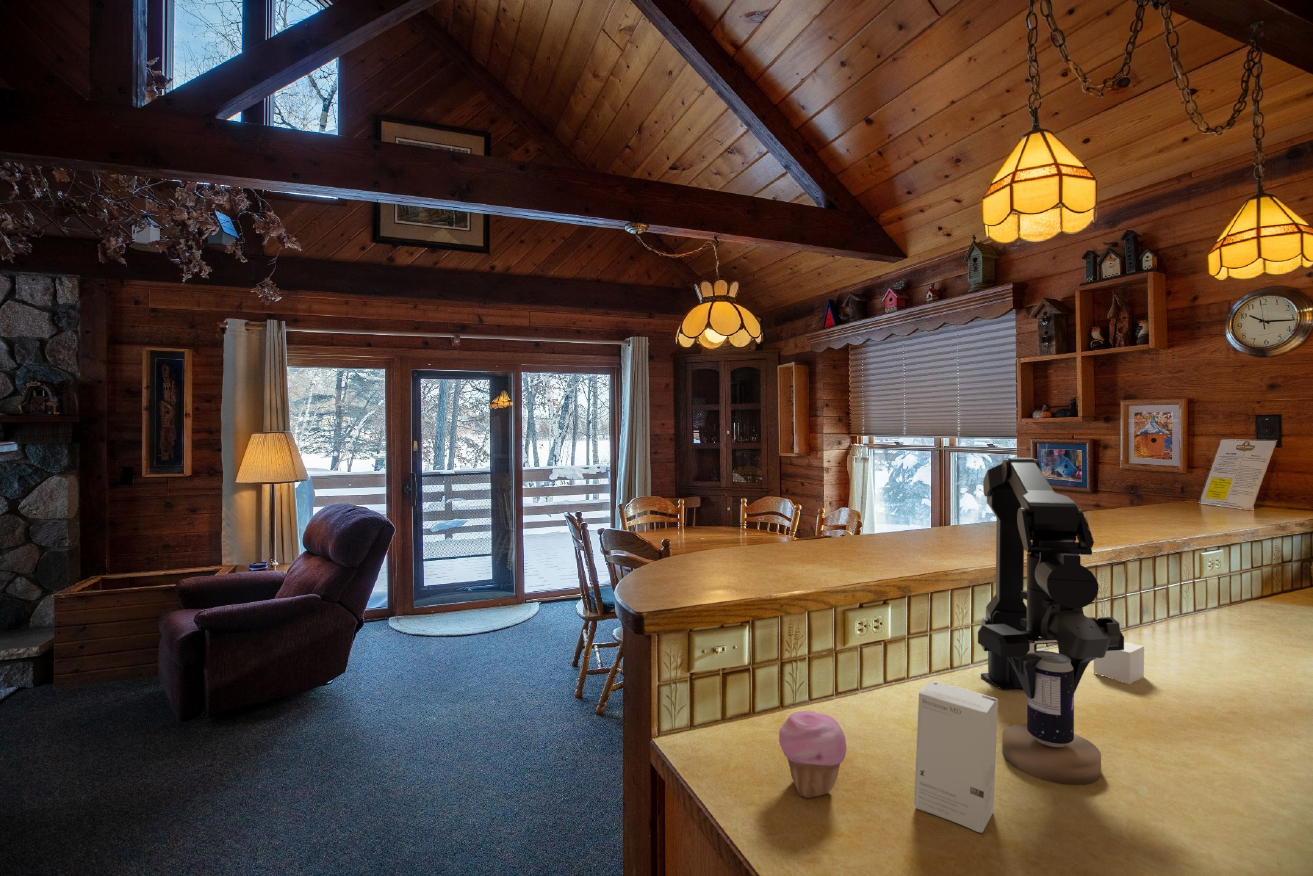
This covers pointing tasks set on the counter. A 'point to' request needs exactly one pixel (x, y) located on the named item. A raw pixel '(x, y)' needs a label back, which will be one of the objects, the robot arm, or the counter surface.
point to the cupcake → (813, 751)
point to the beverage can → (1052, 701)
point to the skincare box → (956, 754)
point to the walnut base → (1052, 757)
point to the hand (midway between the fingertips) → (1049, 696)
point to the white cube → (1122, 663)
